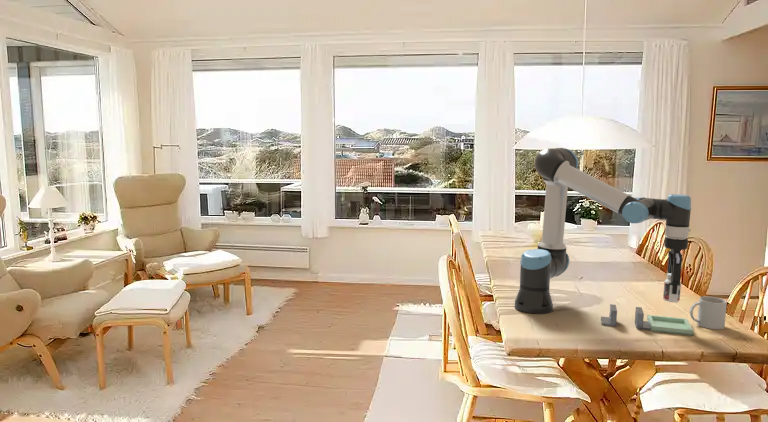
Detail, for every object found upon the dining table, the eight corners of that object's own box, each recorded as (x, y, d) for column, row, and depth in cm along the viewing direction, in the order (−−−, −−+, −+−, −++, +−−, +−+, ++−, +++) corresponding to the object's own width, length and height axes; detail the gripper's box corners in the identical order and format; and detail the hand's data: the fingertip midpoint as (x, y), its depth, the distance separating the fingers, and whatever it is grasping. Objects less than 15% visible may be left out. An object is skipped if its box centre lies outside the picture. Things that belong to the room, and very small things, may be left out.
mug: (726, 325, 208) (729, 299, 207) (721, 331, 201) (723, 305, 200) (694, 318, 215) (696, 293, 214) (688, 324, 208) (690, 299, 207)
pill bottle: (659, 298, 206) (661, 272, 205) (673, 298, 207) (675, 272, 205) (668, 302, 201) (670, 276, 200) (682, 302, 201) (684, 276, 200)
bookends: (601, 325, 207) (602, 309, 206) (600, 318, 215) (601, 303, 214) (651, 330, 202) (653, 314, 201) (649, 323, 209) (650, 308, 208)
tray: (651, 331, 201) (651, 325, 201) (647, 319, 214) (647, 314, 213) (693, 335, 197) (693, 330, 197) (686, 323, 209) (686, 318, 209)
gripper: (693, 242, 191) (687, 308, 194) (683, 233, 208) (678, 294, 211) (668, 241, 193) (664, 305, 196) (661, 232, 210) (657, 292, 214)
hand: (671, 299), depth 204 cm, fingers closed on pill bottle, 5 cm apart
